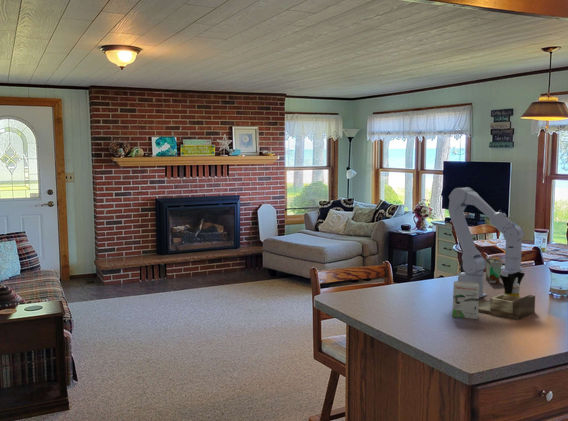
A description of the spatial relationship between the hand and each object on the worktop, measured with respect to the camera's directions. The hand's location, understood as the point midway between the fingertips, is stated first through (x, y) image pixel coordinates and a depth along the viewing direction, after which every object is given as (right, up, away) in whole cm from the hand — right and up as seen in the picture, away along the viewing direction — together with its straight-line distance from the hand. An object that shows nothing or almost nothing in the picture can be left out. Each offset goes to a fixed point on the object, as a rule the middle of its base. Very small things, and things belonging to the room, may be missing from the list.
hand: (511, 292), depth 211 cm
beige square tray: (-7, -4, -14) cm, 16 cm away
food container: (+7, -1, +35) cm, 35 cm away
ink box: (-24, -6, -19) cm, 31 cm away
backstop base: (-9, -5, -12) cm, 16 cm away
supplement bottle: (0, -4, 0) cm, 4 cm away
